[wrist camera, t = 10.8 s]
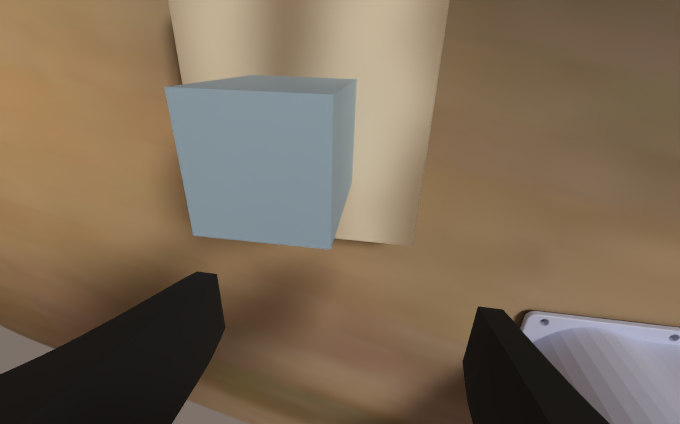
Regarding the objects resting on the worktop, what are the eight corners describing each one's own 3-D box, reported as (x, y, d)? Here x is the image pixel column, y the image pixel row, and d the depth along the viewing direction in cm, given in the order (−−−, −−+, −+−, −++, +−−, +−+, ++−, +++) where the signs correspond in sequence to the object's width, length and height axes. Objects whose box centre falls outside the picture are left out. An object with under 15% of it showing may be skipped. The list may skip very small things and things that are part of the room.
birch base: (442, -7, 14) (452, -19, 12) (410, 223, 19) (413, 245, 16) (198, -10, 15) (164, -21, 13) (227, 206, 20) (206, 225, 18)
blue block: (356, 79, 13) (333, 94, 8) (352, 182, 15) (330, 249, 10) (251, 74, 14) (164, 87, 9) (260, 175, 16) (193, 235, 11)
